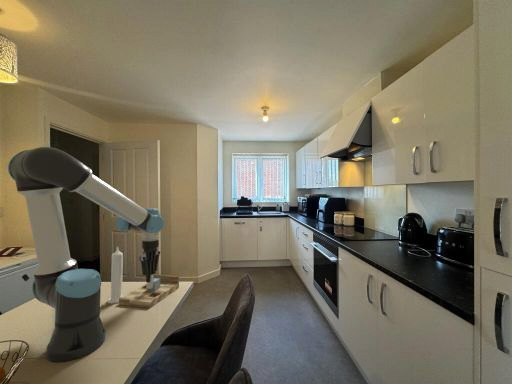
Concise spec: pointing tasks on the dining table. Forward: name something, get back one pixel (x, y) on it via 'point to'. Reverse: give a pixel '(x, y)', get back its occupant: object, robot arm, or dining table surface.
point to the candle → (116, 277)
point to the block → (155, 284)
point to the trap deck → (151, 292)
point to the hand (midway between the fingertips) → (149, 287)
